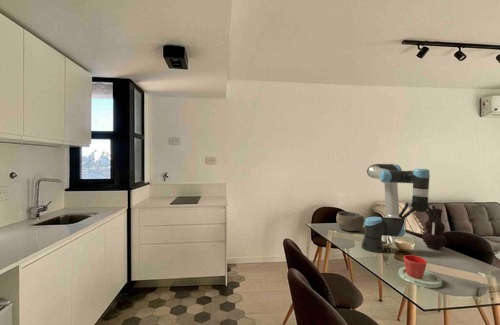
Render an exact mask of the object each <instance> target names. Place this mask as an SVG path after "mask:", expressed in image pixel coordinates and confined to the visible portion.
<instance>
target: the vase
mask: <svg viewBox="0 0 500 325" xmlns="http://www.w3.org/2000/svg"><path fill="white" fill-rule="evenodd" d="M435 210H436V212H437V214H438V216H439V218H440V220H441V223H437V229H435V230H434V235H433V234H432V223H433V222H434V221H433V220H432V219H431V218H430V217H429V216H427V217H428V220H426V221H425V222H424V229H425V232H422V234H421V239H422V241H423V243H424V244H425V246H426V247H427V248H428V249H430V250H434V249H435V250H436V251H440V250H441V249H442V248H444V247H445V246H446V244H447V243H448V240H447V239H448V238H447V237H446V235H444V232H445V231H446V226H445V224H444V223H443V222H442V215H443V209H441V208H436V207H435ZM427 211H428V212H429V213H430V214H431V215H432V216H433V217H434V219H435V220H437V218H436V216H435V214H434V212H433V210H432V209H430V207H429V208H428V209H427ZM439 249H440V250H439ZM435 250H434V251H435Z"/></svg>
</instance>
